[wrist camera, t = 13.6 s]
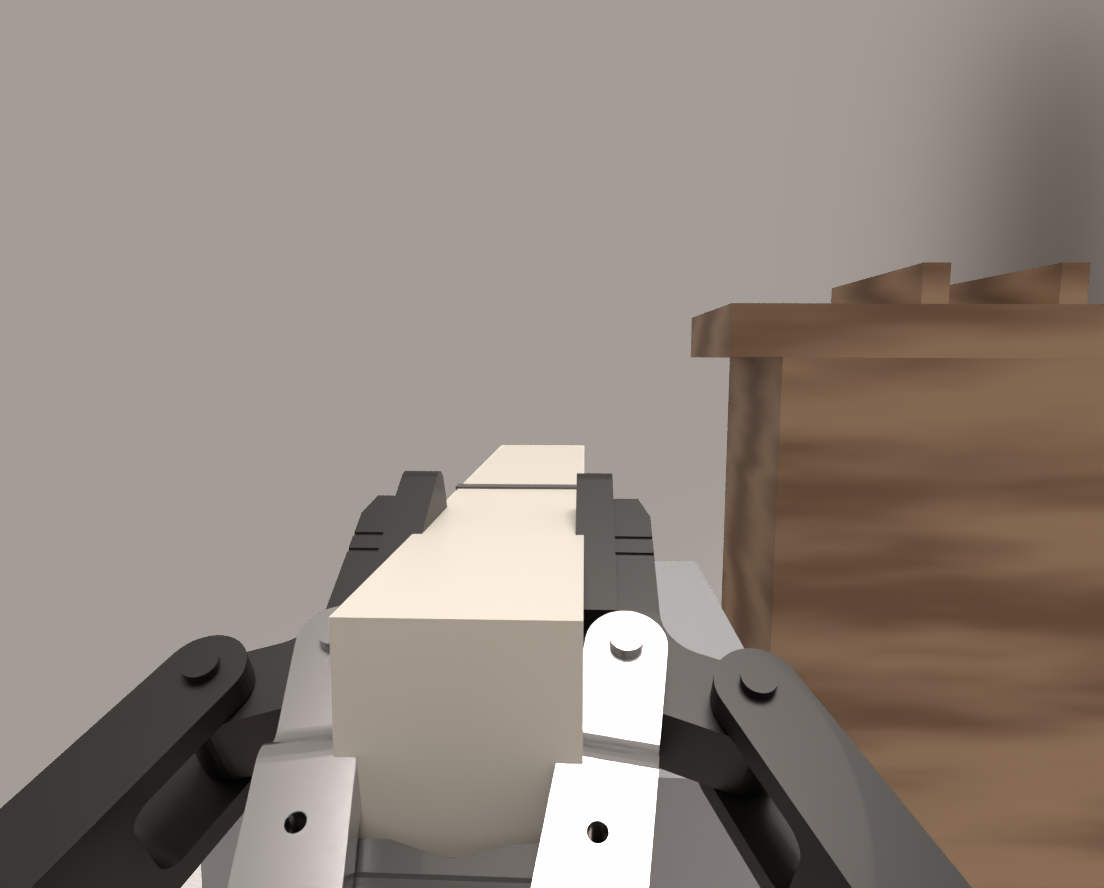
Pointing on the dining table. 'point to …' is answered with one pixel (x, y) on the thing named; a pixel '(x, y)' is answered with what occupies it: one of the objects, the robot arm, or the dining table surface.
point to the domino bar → (468, 662)
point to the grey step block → (681, 807)
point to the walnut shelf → (934, 544)
